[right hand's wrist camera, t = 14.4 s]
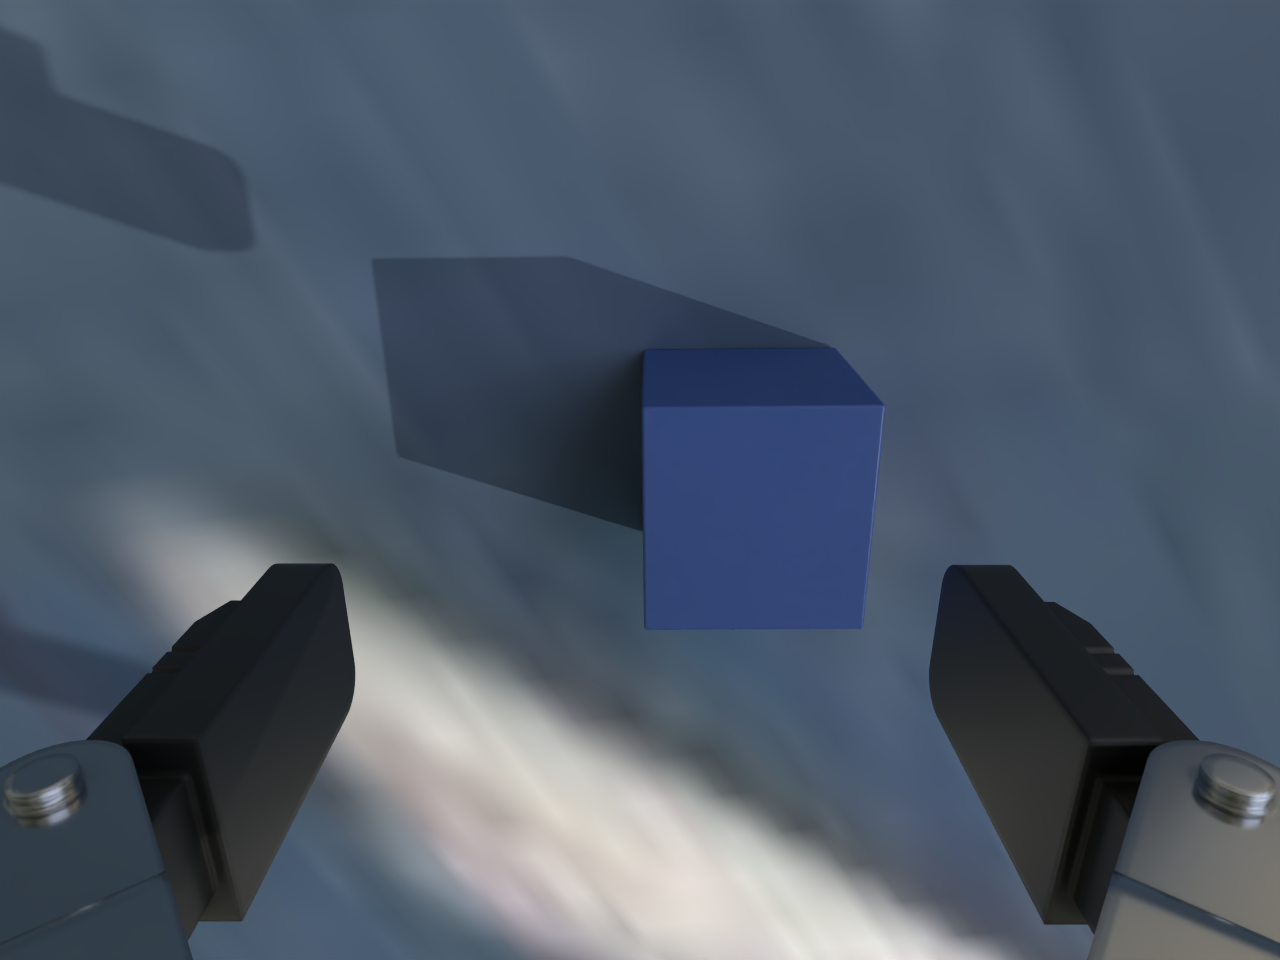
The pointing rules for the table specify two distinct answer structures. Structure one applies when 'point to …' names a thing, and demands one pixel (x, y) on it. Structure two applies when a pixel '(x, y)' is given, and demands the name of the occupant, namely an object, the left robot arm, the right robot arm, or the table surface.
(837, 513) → the block
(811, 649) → the table surface
